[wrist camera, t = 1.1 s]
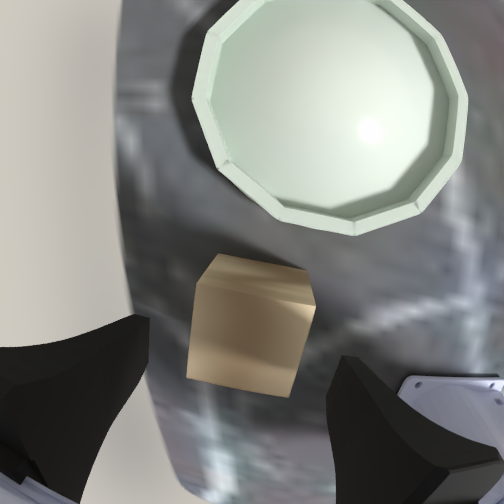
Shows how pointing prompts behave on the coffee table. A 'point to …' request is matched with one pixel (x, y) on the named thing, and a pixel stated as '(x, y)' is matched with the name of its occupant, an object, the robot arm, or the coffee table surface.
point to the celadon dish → (331, 109)
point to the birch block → (250, 325)
